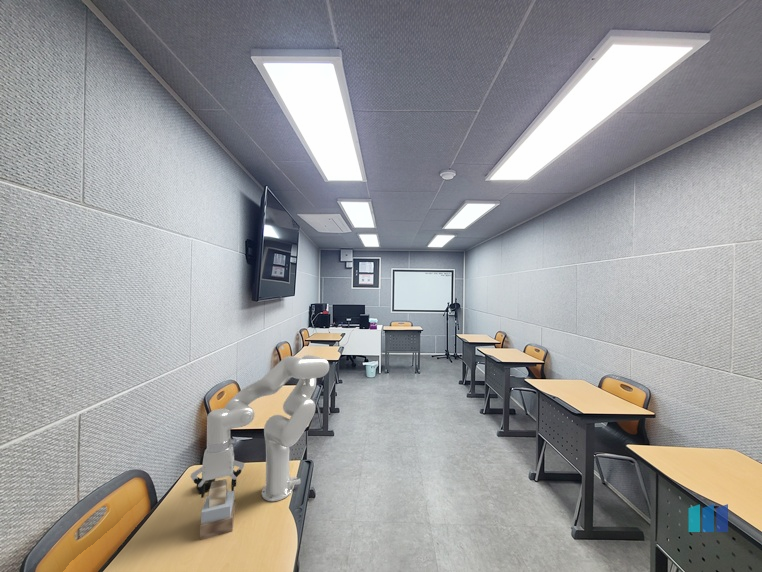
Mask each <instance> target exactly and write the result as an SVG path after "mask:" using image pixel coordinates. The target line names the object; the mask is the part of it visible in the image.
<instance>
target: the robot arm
mask: <svg viewBox="0 0 762 572" xmlns="http://www.w3.org/2000/svg"><path fill="white" fill-rule="evenodd" d="M329 370H330V363H329V361H328V360H327V359H326V358H323V357H320V356H314V355H310V354H306V355H304V356H302V357H297V356H294V355H293V356H292V355H288V356H285V357H284V358H282V359H281V360H280V361H279V362H277V364H275V365H274V366H273V368H272V369H270V370H269V371H268V372H267V374H265V375H264V376H263V377H262V378H260V379H258V380H257V381H255V382H253V383H251V384H249V385H247V386H245V387H244V388H242V389H241V390H239V391H238V392H236V394H235V395H234V396H233V397H231V399H230V400H228V401H227V403H226V404H225V406H224V408H217V409H214V410H211V411H210V412H209V413H207V418H206V449H205V450H204V453H203V459H202V466H200V467H199V468H198V469H196V470H194V471H193V472H192V473H191V474H190V478H191V480H192V481H193V483H194V484H195V485H196V486H197V485H198V487H199V491H198V493H199V495H200V499H202V498H205V495H206V494H205V493H206V491H205V481H206V480H212V479H215V480H216V479H220V478H226V477H230V478H231V483H230V484H231V487H230V488H231V490H230V491H234V492H235V487H237V477H239V476H240V475H241V473H242V471H243V470H244V468H245V463H244V462H242V461H238V460H235V453H234V452H235V451H234V446H233V445H234V444H235V438H231V429H239V428H243V427H246V426H248V425H250V424H251V423H252V422H253V420H254V419H255V411H254V409H253V408H252V407H251V406H249V405H250V404H252V403H253V402H254V401H255V400H257V399H259V398H262V397H267V396H271V395H275V394H277V392H278V391H280V389H281V388H282V387H284V385H286V383H287V382H288V381H289V380H290V379H291V378H293V379H297V380H298V382H297V384H295V387H293V389H292V391H291V392H290V394H289V395H288V396H287V397H286V399H285V401H284V402H283V404H282V410H283V412H284V413H285V414H286V415H288V416H290V418H288V417H286V416H284V415H281V414H275V415H272V416H271V417H269V418H268V419H267V420H266V422H265V424H264V429H263V434H264V443H265V485H264V486H263V488H262V490H261V496H262V499H264V500H265V501H267V502H277V501H281V500H283V499H285V498H287V497H289V496H290V495H291V494H292V492H293V490H294V486H296V485H301V478H298V476H294V477H291V474H290V448H291V447H292V446H294V445H295V444H296V443H297V442H298V441H299V439H300V438H301V437H302V435H303V434H304V432H305V430H306V429H307V428H308V426H309V424H310V423H311V421H312V419H313V418H314V415H315V413H316V404H315V401H314V400H313V399H312V398H311V396H312V395H313V393H314V391H315V389H316V387H317V386H316V385H317V379H318V378H323V377H324V376H326V375H327V374H328V372H329ZM235 467H237V468H238V469H237V470H235ZM200 474H201V478H200V477H198V475H200Z"/></svg>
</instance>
